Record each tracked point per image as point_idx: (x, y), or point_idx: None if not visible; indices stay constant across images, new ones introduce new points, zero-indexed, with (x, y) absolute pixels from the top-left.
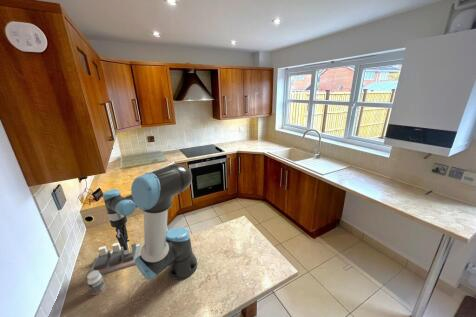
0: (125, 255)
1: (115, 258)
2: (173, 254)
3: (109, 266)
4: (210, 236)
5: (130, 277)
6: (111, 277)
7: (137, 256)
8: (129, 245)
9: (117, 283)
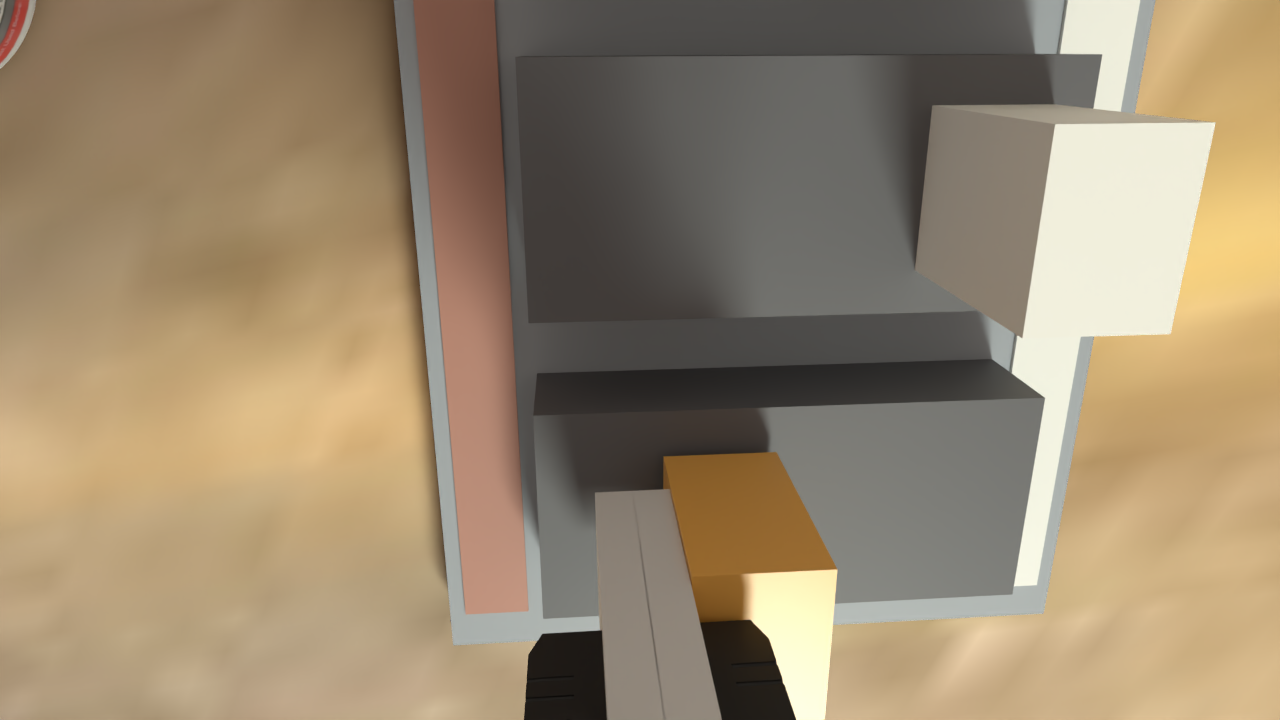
0: (645, 452)
1: (635, 216)
2: None
3: (526, 50)
4: None
5: (123, 538)
6: (224, 157)
7: None
8: None
9: (15, 329)
